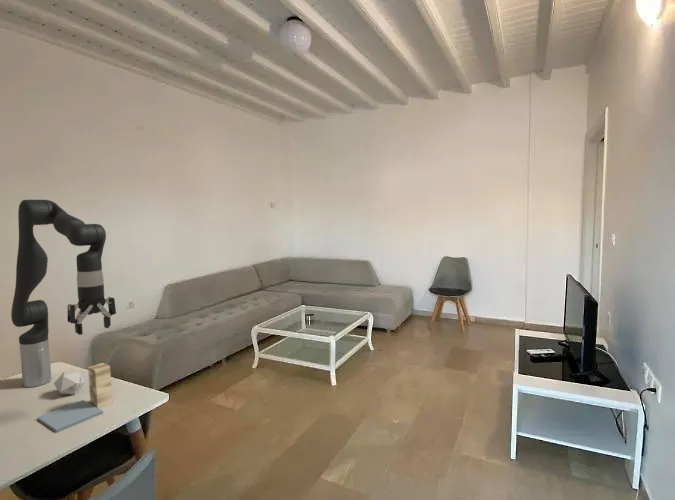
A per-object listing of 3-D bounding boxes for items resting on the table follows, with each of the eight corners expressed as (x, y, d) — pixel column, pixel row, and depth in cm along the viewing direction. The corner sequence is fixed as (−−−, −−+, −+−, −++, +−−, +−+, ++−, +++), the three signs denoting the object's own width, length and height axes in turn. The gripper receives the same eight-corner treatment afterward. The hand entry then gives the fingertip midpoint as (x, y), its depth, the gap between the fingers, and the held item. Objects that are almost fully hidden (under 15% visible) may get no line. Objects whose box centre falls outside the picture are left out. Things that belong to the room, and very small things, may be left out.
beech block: (90, 405, 142) (88, 367, 140) (105, 399, 146) (103, 362, 145) (97, 408, 139) (95, 370, 138) (112, 402, 143) (110, 365, 142)
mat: (37, 419, 132) (37, 417, 132) (83, 402, 144) (82, 400, 144) (56, 432, 125) (56, 430, 124) (103, 413, 136) (102, 410, 136)
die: (62, 402, 145) (80, 378, 147) (43, 389, 146) (62, 365, 148) (76, 400, 153) (94, 376, 155) (59, 387, 154) (76, 364, 157)
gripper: (106, 279, 141) (109, 324, 143) (61, 286, 129) (65, 334, 131) (118, 281, 137) (120, 327, 138) (72, 288, 125) (75, 338, 127)
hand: (93, 330), depth 135 cm, fingers open, 8 cm apart
